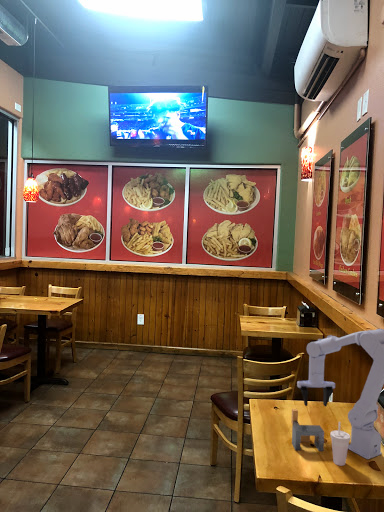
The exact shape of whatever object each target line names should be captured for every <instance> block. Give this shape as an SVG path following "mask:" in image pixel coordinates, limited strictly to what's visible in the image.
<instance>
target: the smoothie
mask: <svg viewBox="0 0 384 512" xmlns="http://www.w3.org/2000/svg"><path fill="white" fill-rule="evenodd" d="M329 436H330V438H331V447H332V450H331V451H332V459H333V463H334V464H335V466H336V465H337V466H345V465H346V462H347V457H348V455H347V454H348V450H349V449H348V445H349V443H350V442H351V434H349V433H347V432H345V431H344V430H341V421H338V429H337V430H336V429H335V430H331V431H330V435H329Z"/></svg>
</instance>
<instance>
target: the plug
mask: <svg viewBox="0 0 384 512" xmlns="http://www.w3.org/2000/svg"><path fill="white" fill-rule="evenodd" d="M298 418H299V409H298V408H292V409H291V425H300V423H299V419H298ZM310 442H311V436H302V435H301V443H310Z"/></svg>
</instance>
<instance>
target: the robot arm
mask: <svg viewBox="0 0 384 512" xmlns="http://www.w3.org/2000/svg"><path fill="white" fill-rule="evenodd" d="M351 344H356V345H358V346H361V347H362V349H363V350H365V352H366V353H367V354H368V355H369V356H370V357H371V358H372V360H373V361H372V365H371V367H370V370H369V373H368V375H367V378H366V381H365V384H364V386H363V389H362V392H361V393H360V398H359V399H358V400H357V401H356V402H355V404H354V405H353V407H352V408H351V409H350V410H349V411H348V413H347V419H348V421H349V424H350V426H351V429H350V430H351V432H350V444H349V445H348V450H350V451H352V453H355V454H357V455H358V456H361V457H362V458H364V459H366V460H369V459H372V458H375V457H377V456H378V457H379V456H381V455H382V451H381V448H382V444H381V443H382V435H381V433H380V432H378V431H377V430H376V429H375V427H374V425H375V422H376V421H377V419H378V416H379V415H378V410H379V405H378V404H377V402H378V400H379V397H380V395H381V392H382V390H383V389H382V388H383V387H384V329H383V328H377V329H369V330H362V331H361V330H360V331H357V332H356V331H355V332H353V333H350V334H347V335H344V336H341V337H337V336H336V335H332V334H330V335H327V336H326V337H325V338H318V339H317V340H316V341H311V342H309V343H307V345H306V353H307V354H308V355H309V359H308V361H309V362H308V380H298V381H297V382H296V384H297V385H296V386H297V388H299V390H300V392H301V395H302V399H303V404H304V406H305V407H307V406H308V403H309V402H308V399H309V398H308V397H309V390H308V388H322V392H323V397H322V402H323V406H324V407H327V406H328V403H329V400H330V398H331V396H332V394H333V393H334V389H335V388H336V383H335V382H333V381H327V380H326V381H325V378H324V377H325V359H326V355H328V354H331V353H335V352H339V351H341V349H342V347H344V346H348V345H351Z"/></svg>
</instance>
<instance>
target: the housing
mask: <svg viewBox="0 0 384 512" xmlns="http://www.w3.org/2000/svg"><path fill="white" fill-rule="evenodd" d="M291 425H292V424H291ZM291 433H292V434H291V445H292V447H293V449H294V451H299V452H300V451H301V443H302V442H301V435H302V436H310V437H312V436H313V437H314V438H313V439H314V441H313V442H314V443H313V444H314V446H315V447H316V449H317V451H318V452H324V446H325V443H324V442H325V431H324V429H323V428H322V427H321V425H319V424H318V425H317V424H316V425H315V424H313V425H311V424H308V425H307V424H299V425H292V431H291Z"/></svg>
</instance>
